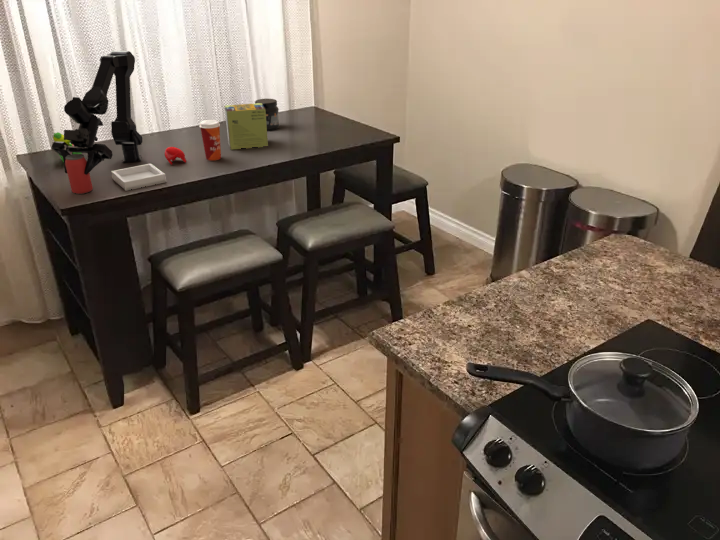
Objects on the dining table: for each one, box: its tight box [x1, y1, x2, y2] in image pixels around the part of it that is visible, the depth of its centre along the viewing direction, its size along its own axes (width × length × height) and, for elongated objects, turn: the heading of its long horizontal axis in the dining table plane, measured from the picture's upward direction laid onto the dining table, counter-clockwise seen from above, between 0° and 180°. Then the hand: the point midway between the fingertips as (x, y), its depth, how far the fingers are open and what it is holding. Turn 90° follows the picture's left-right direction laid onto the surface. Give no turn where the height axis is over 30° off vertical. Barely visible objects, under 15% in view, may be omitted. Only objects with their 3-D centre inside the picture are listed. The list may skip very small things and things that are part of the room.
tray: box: [110, 162, 167, 192], centre depth 211 cm, size 14×14×3 cm
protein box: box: [223, 102, 269, 151], centre depth 245 cm, size 10×15×16 cm
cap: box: [164, 146, 187, 166], centre depth 228 cm, size 8×6×6 cm
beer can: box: [65, 153, 94, 195], centre depth 200 cm, size 7×7×12 cm
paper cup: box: [199, 119, 222, 161], centre depth 230 cm, size 8×8×14 cm
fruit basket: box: [52, 131, 83, 164], centre depth 227 cm, size 11×9×11 cm
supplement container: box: [254, 98, 280, 131], centre depth 268 cm, size 10×10×12 cm
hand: (75, 173), depth 198 cm, fingers closed on beer can, 6 cm apart
